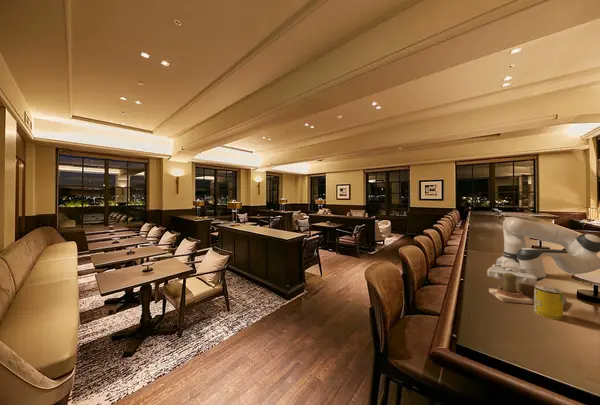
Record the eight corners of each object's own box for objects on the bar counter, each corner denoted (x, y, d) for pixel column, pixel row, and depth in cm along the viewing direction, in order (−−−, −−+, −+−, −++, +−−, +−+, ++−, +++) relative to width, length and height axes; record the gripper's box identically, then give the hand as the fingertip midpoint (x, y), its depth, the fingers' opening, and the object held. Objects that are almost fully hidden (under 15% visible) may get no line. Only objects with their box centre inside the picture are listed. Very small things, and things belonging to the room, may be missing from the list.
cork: (520, 296, 119) (520, 275, 119) (509, 296, 119) (509, 275, 119) (509, 291, 125) (509, 271, 125) (498, 291, 125) (499, 272, 125)
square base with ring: (488, 291, 130) (488, 284, 130) (516, 293, 127) (516, 286, 127) (502, 301, 118) (502, 294, 118) (533, 304, 114) (533, 296, 114)
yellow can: (553, 311, 108) (553, 286, 107) (568, 321, 99) (568, 294, 99) (529, 308, 110) (529, 284, 110) (542, 317, 102) (542, 291, 102)
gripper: (537, 283, 125) (537, 290, 115) (489, 274, 140) (486, 280, 130) (537, 271, 125) (537, 278, 115) (489, 264, 139) (485, 269, 130)
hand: (509, 279), depth 123 cm, fingers open, 8 cm apart
